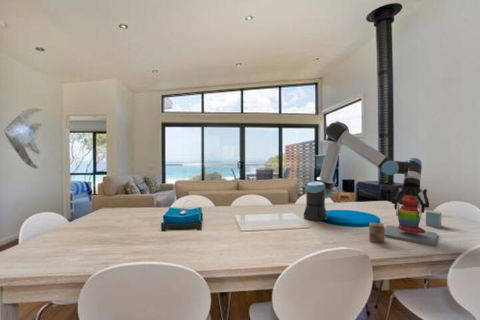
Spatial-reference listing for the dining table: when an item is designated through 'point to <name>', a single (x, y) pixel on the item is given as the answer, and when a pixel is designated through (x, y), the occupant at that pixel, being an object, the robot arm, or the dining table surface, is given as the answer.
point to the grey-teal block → (433, 218)
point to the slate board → (411, 235)
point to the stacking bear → (409, 215)
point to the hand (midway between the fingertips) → (408, 215)
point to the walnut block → (376, 232)
